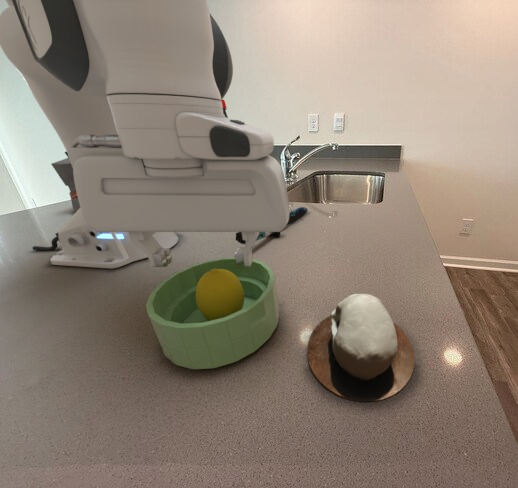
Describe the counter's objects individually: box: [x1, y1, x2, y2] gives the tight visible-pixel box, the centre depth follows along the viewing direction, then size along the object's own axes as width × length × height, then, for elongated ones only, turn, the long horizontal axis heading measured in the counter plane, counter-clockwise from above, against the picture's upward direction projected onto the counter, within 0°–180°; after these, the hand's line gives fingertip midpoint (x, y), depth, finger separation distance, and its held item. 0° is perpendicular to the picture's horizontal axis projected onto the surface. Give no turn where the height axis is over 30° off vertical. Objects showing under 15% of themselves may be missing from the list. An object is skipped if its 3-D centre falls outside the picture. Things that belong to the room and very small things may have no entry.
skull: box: [306, 292, 415, 403], centre depth 29 cm, size 12×10×10 cm
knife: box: [235, 206, 309, 246], centre depth 62 cm, size 31×3×4 cm, turn 154°
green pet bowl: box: [145, 256, 280, 370], centre depth 33 cm, size 14×14×6 cm
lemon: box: [196, 268, 244, 321], centre depth 32 cm, size 6×6×8 cm
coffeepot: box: [50, 150, 81, 214], centre depth 79 cm, size 15×9×18 cm, turn 51°
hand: (203, 264), depth 30 cm, fingers open, 8 cm apart
